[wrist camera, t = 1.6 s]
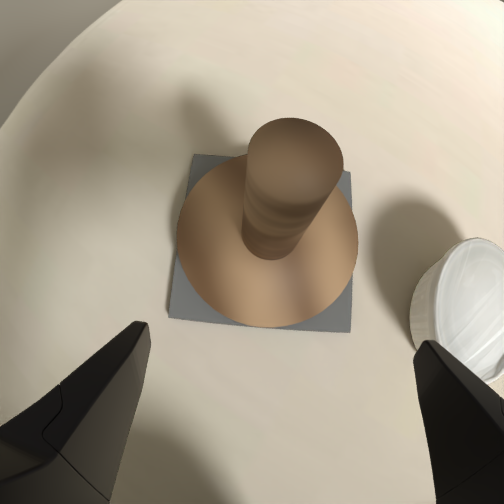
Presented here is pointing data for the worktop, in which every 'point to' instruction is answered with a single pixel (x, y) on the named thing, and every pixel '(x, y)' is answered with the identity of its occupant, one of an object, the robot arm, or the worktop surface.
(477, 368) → the ramekin
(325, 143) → the walnut lid
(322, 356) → the worktop surface
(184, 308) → the rubber mat
